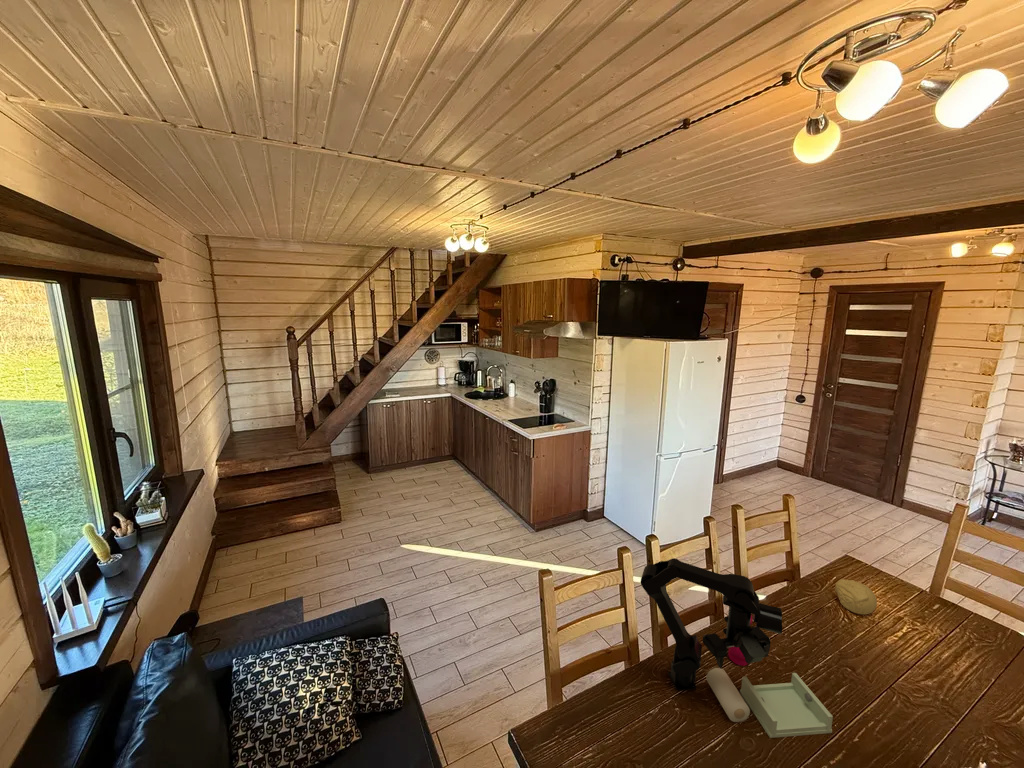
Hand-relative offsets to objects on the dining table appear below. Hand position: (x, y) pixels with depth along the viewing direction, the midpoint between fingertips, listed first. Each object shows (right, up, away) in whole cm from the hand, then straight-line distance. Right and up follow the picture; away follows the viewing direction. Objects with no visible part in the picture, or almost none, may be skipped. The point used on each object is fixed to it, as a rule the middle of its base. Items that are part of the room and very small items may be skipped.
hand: (733, 665), depth 124 cm
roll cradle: (+14, -12, -2) cm, 18 cm away
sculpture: (+68, -4, +39) cm, 78 cm away
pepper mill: (+10, -9, +17) cm, 22 cm away
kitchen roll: (-2, -9, +1) cm, 9 cm away
